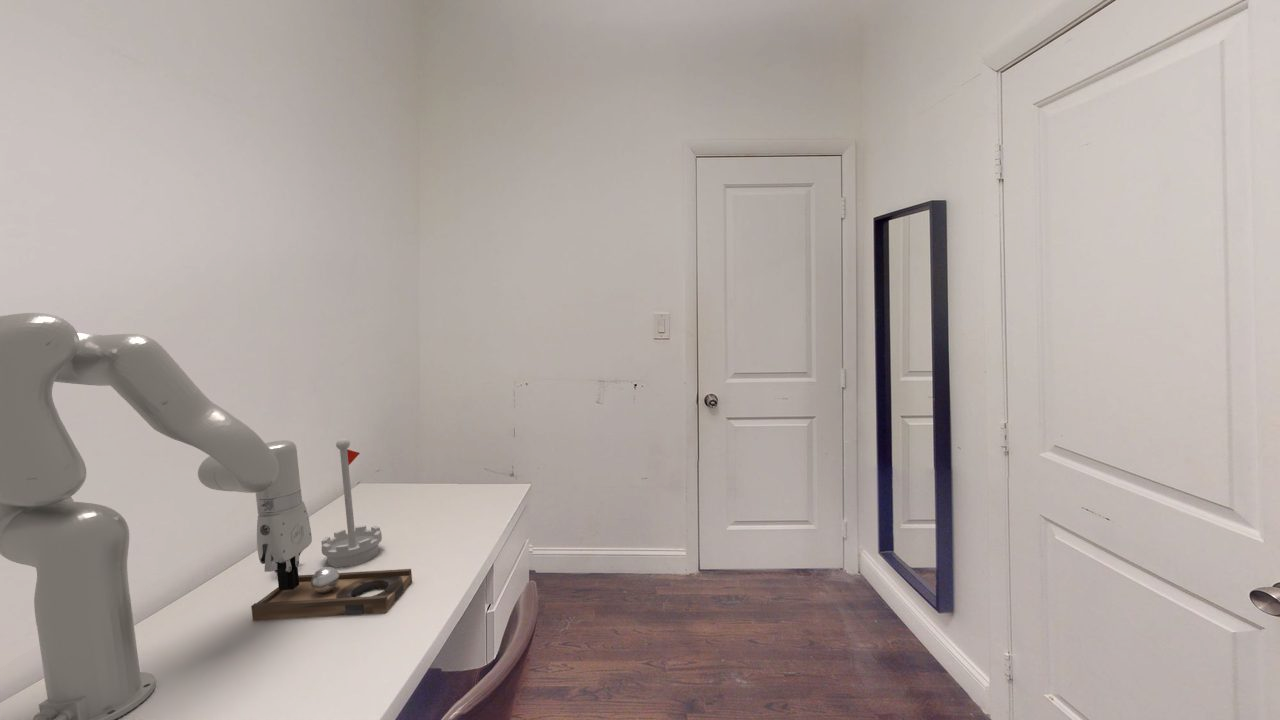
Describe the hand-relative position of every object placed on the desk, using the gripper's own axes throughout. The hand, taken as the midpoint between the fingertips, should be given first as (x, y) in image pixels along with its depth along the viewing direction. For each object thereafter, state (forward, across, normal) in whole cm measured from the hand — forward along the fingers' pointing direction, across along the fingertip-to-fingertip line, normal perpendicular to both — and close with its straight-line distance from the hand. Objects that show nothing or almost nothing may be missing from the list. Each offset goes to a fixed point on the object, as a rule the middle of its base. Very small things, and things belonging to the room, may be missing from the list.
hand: (289, 587), depth 105 cm
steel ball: (-1, 0, -8) cm, 8 cm away
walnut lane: (+3, 0, -10) cm, 10 cm away
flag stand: (+4, +21, -2) cm, 21 cm away
